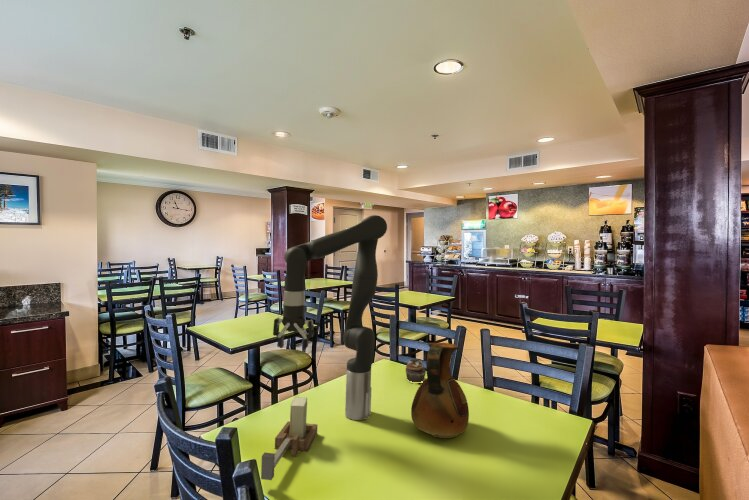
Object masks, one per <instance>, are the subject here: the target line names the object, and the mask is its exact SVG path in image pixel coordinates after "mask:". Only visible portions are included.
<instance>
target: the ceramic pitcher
mask: <svg viewBox="0 0 749 500" xmlns="http://www.w3.org/2000/svg"><path fill="white" fill-rule="evenodd" d="M427 346H428V347H429V349H428V351H427V354H426V361H425V364H426V367H425V368H426V377H427V378H426V379H424V381H423V383H421V384H419V387H418V388H417V390H416V392H415V394H414V398H413V401H412V403H411V407H410V408H411V409H410V414H411V416H410V417H411V419H412V423H413V424H414V426H415V427H416V428H417V429H418V430H419V431H422V432H424V433H426V434H428V435H432V436H433V437H435V438H441V439H450V438H454V437H456V436H459V435H461V434H463V433H464V432H465V431H466V430H467V428H468V425H469V418H470V411H469V403H468V400H467V396H466V395H465V394H466V393H465V391H464V390H463V388H462V387H461V385H460V384H459V383H458V381H456V379H455V378H453V376H452V372H451V362H452V356H453V354H454V353H455V351H456V350H459V346H458V345H456V344H452V343H449V342H427Z"/></svg>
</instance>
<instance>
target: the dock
mask: <svg viewBox="0 0 749 500" xmlns="http://www.w3.org/2000/svg"><path fill="white" fill-rule="evenodd" d="M289 434H290V420H289V421H288V420H287V422H286V423H285V424H284V425H283V427H282V428H281V430H279V432H278V434H277V435H276V436H275V438H274V449H277V450H278V449H279V447H280V446H281V444H282V443H283V441H284V440H285V439H291V444H290V445H289V447H288V448H287V450H286V451H291V457H292V458H293V457H294V458H296V457H297V455H298V453H299V452H304V453H308V452H309V450H310V449H311V446H312V445H313V442H314V441H315V439H316V437H317V436H318V424H317V423H316V424H315V423H309V422H308V423H307V422H306V434H305V437H304V439H299V435H298V434H295V436H294V437H293V438H290V437H289Z"/></svg>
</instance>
